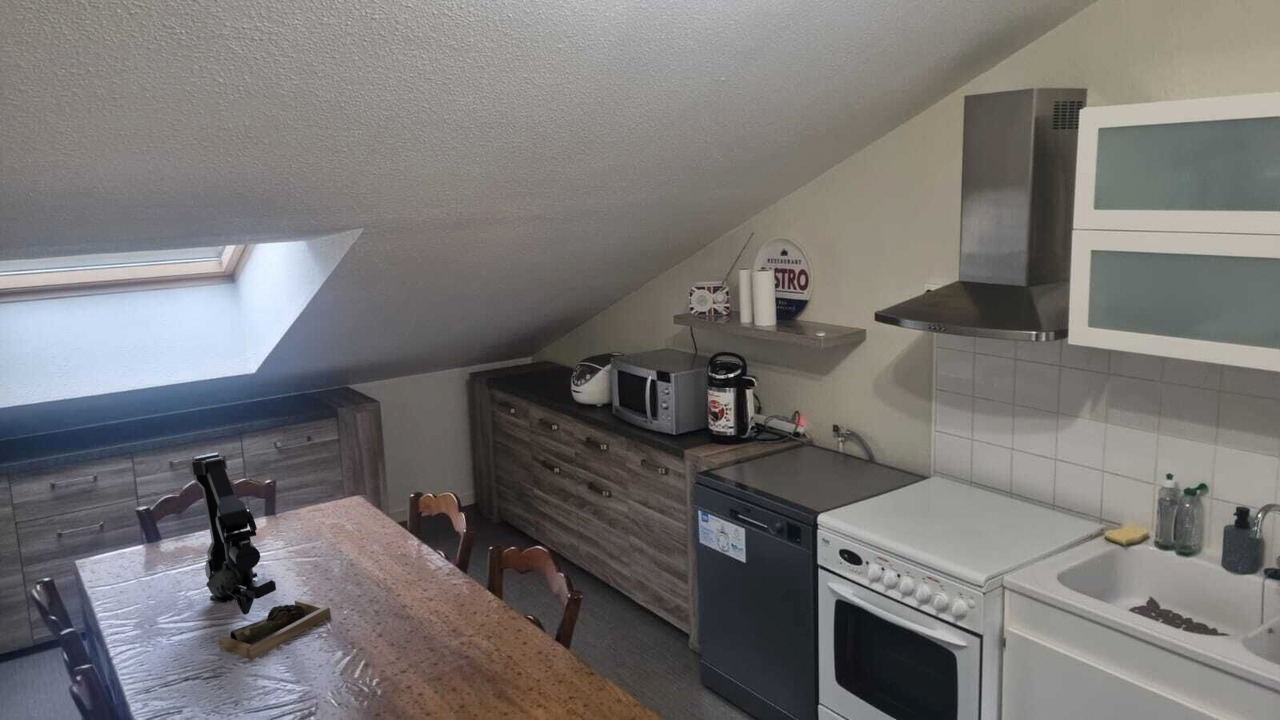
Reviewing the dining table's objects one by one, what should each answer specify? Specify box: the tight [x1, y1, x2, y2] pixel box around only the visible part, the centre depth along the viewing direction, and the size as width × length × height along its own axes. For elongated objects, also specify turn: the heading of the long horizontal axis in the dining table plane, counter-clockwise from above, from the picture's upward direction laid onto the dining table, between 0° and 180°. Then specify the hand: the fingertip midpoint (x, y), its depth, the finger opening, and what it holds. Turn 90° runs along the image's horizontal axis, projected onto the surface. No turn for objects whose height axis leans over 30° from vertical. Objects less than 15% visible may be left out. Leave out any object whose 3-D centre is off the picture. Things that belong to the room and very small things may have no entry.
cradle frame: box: [219, 598, 332, 660], centre depth 236 cm, size 11×24×2 cm, turn 150°
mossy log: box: [229, 604, 307, 645], centre depth 235 cm, size 18×7×6 cm, turn 134°
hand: (246, 613), depth 241 cm, fingers closed
